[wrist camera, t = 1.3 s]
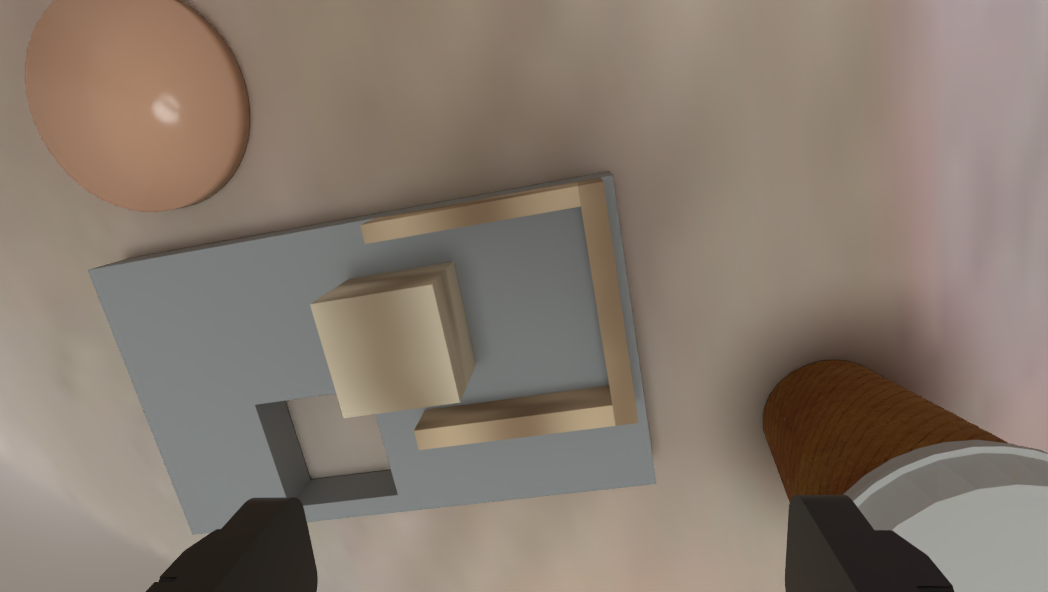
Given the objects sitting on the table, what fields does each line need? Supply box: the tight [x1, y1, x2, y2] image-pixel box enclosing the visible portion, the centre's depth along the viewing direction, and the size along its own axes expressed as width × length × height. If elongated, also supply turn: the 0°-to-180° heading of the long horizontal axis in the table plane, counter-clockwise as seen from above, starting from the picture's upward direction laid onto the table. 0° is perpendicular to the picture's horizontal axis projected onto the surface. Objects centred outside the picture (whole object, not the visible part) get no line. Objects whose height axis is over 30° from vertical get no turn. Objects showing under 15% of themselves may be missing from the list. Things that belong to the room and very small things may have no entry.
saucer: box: [25, 0, 250, 212], centre depth 27 cm, size 10×10×1 cm
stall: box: [360, 178, 639, 450], centre depth 25 cm, size 10×10×2 cm
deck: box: [88, 171, 656, 535], centre depth 29 cm, size 25×15×2 cm, turn 100°
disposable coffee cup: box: [763, 360, 1048, 592], centre depth 23 cm, size 10×10×12 cm
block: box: [310, 262, 476, 418], centre depth 25 cm, size 5×5×4 cm
